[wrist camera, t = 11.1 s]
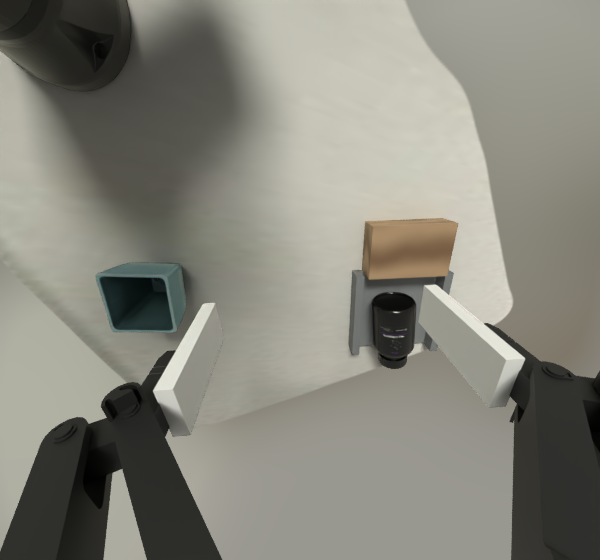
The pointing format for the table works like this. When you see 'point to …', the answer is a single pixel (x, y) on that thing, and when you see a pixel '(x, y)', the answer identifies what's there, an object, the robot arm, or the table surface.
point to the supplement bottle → (393, 327)
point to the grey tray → (369, 289)
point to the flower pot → (143, 297)
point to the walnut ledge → (408, 248)
